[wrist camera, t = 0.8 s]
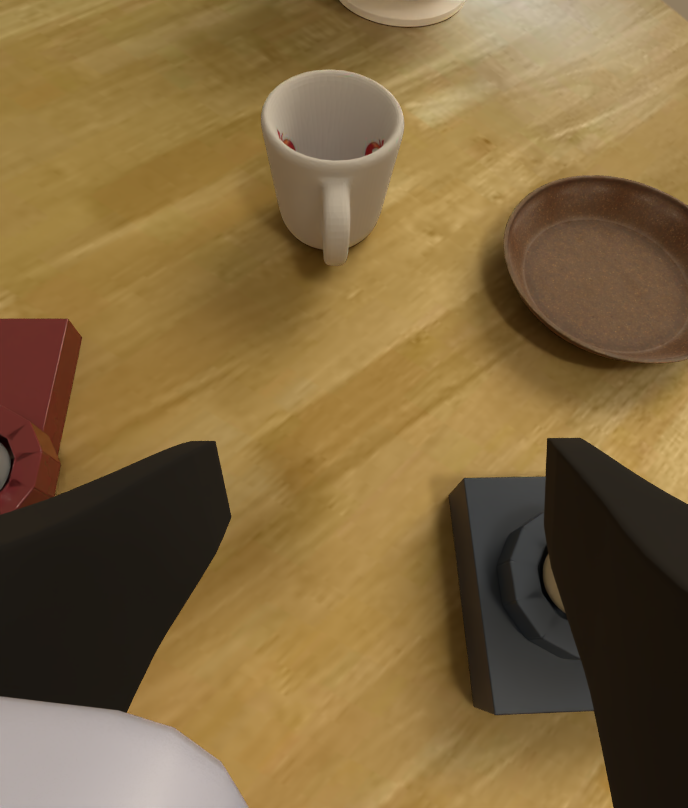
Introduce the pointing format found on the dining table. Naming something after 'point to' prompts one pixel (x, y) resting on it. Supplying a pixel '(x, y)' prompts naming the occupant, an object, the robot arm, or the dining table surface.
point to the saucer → (604, 266)
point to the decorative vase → (404, 11)
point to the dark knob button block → (512, 601)
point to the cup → (331, 156)
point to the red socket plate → (34, 404)
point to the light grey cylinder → (4, 465)
